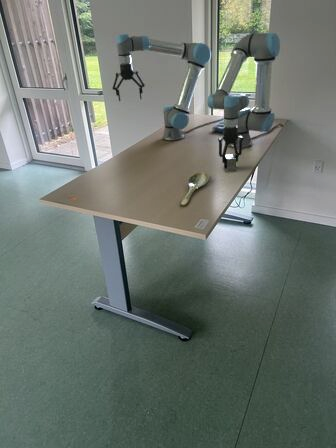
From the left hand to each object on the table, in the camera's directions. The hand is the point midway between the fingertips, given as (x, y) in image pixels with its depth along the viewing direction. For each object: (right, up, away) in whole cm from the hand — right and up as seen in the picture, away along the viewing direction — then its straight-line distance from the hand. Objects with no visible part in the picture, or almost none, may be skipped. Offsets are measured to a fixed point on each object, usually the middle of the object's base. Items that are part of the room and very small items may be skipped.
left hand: (130, 99), depth 214 cm
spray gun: (+68, -7, +43) cm, 80 cm away
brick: (+59, -49, -24) cm, 80 cm away
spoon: (+37, -62, -44) cm, 85 cm away
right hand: (+59, -47, -25) cm, 80 cm away
